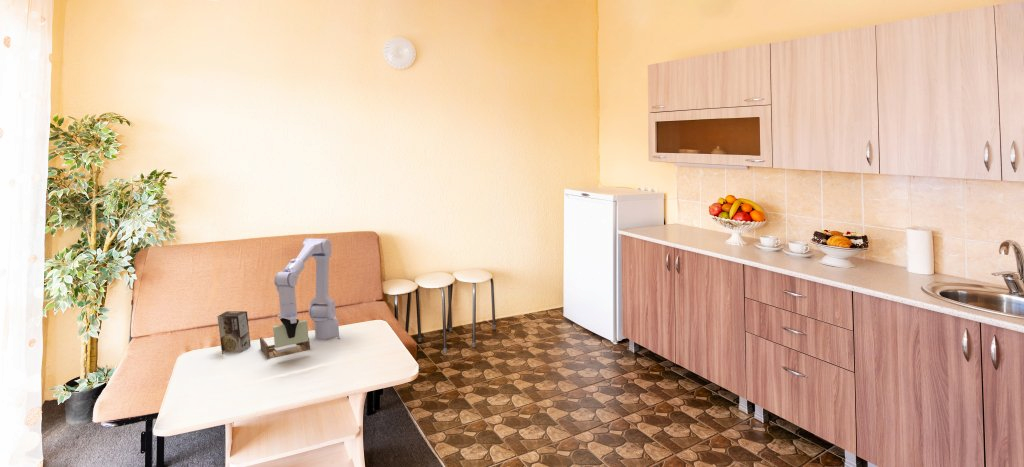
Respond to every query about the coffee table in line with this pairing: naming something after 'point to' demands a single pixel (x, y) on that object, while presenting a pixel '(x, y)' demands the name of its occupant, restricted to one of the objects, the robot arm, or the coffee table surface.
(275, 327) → the pale green long block
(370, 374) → the coffee table surface
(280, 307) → the robot arm
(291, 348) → the offcut upper
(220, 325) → the coffee box
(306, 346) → the rack
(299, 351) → the offcut lower
